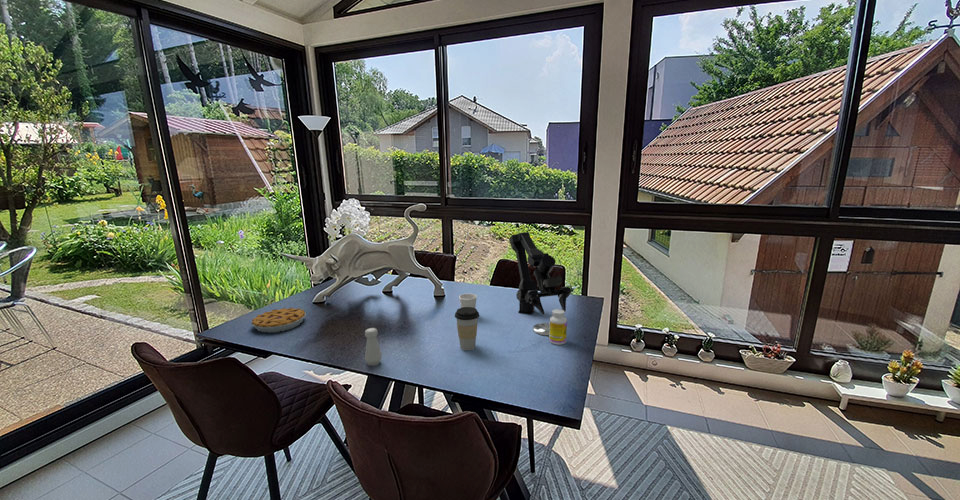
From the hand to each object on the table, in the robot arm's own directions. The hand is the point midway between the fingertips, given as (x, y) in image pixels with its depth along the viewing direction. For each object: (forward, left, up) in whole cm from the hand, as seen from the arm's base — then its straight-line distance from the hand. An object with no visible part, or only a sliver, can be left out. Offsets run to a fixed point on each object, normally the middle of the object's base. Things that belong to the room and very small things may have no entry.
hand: (554, 313), depth 155 cm
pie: (-120, -26, -11) cm, 123 cm away
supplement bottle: (+2, -3, -11) cm, 11 cm away
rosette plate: (-4, +6, -11) cm, 13 cm away
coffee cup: (-30, -19, -11) cm, 37 cm away
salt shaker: (-57, -42, -11) cm, 72 cm away
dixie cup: (-42, +10, -11) cm, 44 cm away
